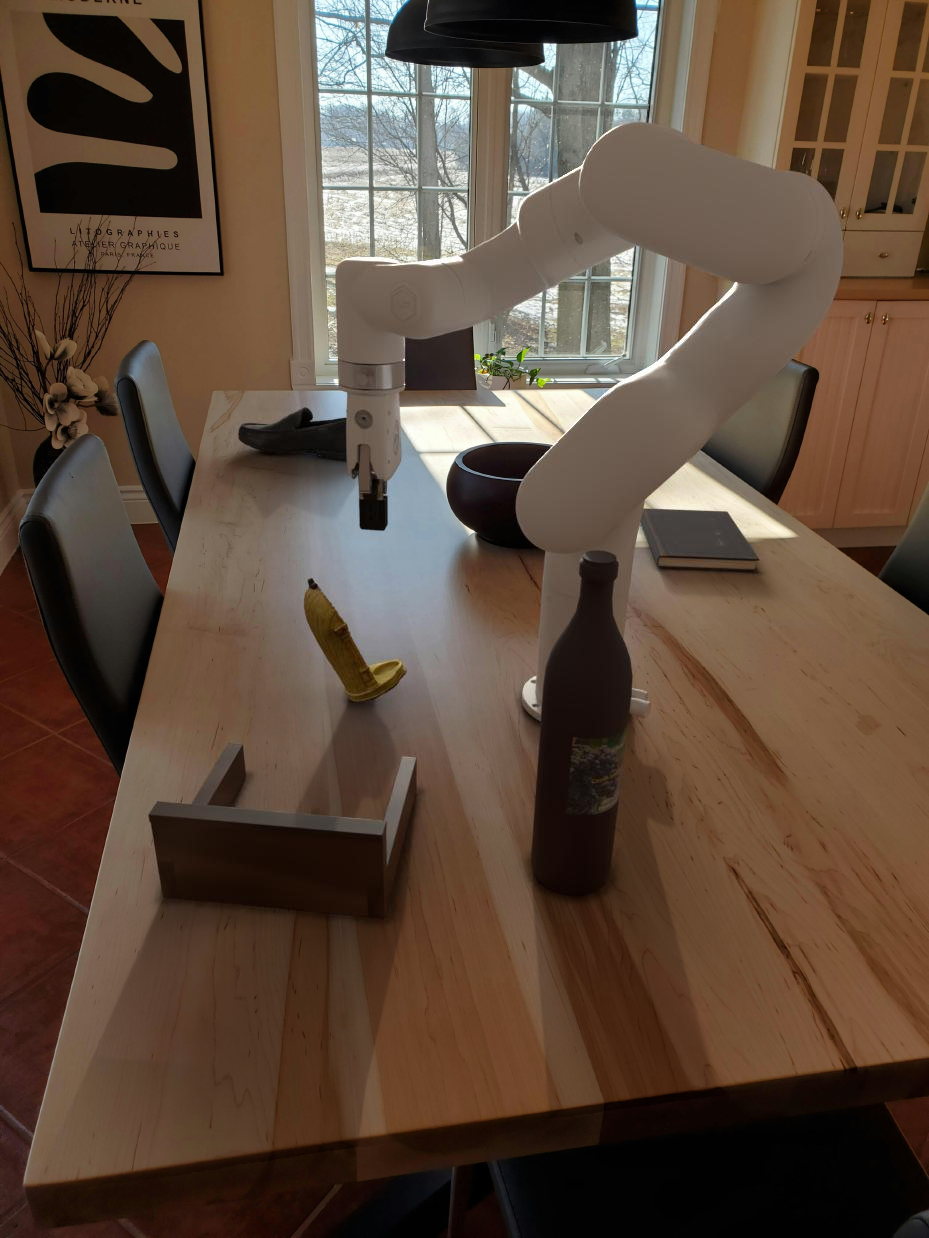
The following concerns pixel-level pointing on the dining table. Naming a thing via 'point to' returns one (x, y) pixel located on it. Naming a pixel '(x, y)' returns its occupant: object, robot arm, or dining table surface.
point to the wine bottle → (582, 739)
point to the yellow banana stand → (347, 651)
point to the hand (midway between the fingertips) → (373, 527)
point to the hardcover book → (697, 540)
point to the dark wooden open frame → (279, 848)
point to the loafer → (298, 436)
